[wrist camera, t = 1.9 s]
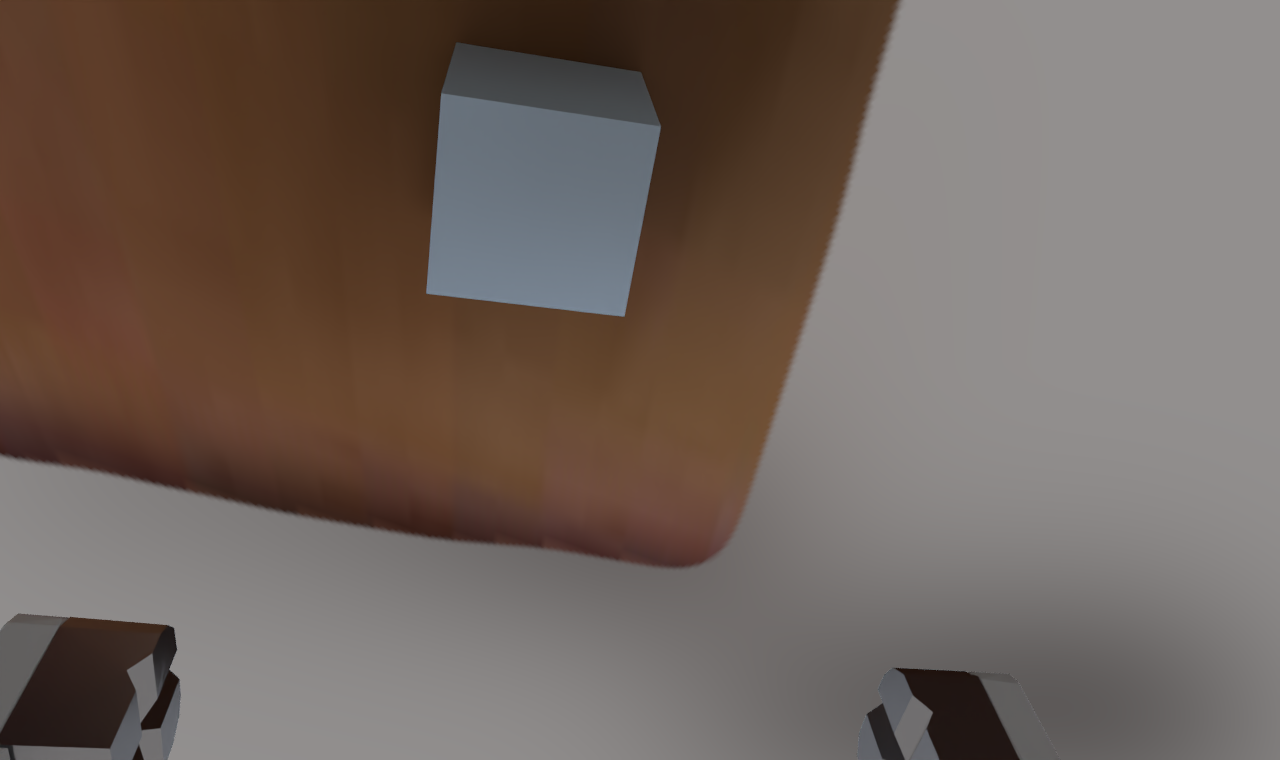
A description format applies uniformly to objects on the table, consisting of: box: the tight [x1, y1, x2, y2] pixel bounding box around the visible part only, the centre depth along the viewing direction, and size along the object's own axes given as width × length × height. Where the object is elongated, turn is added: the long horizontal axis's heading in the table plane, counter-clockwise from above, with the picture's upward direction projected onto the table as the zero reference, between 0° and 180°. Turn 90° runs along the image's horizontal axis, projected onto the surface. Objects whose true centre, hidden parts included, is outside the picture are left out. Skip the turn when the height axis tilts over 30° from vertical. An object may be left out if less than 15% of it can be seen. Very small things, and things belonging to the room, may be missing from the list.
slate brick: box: [426, 42, 661, 317], centre depth 25 cm, size 5×5×5 cm
